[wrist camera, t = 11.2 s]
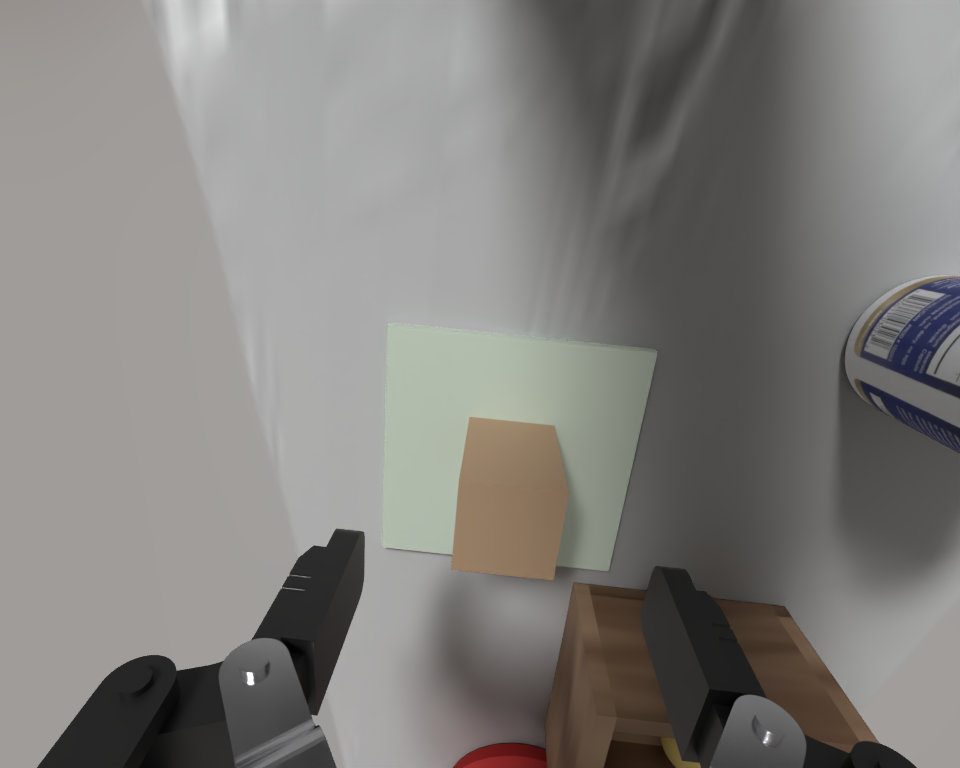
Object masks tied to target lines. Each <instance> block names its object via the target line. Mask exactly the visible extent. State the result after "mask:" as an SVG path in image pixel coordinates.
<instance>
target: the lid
mask: <svg viewBox="0 0 960 768" xmlns="http://www.w3.org/2000/svg"><path fill="white" fill-rule="evenodd" d="M657 354H658V352H657V351H656V350H655V349H650V348H641V347H631V346H621V345H611V344H601V343H591V342H582V341H572V340H562V339H552V338H542V337H532V336H522V335H513V334H503V333H493V332H483V331H473V330H463V329H454V328H444V327H434V326H424V325H414V324H404V323H395V322H390V323H389V324H388V325H387V362H386V400H385V437H384V475H383V513H382V547H385V548H394V549H403V550H413V551H422V552H431V553H441V554H450V555H452V565H451V570H460V571H469V572H478V573H488V574H497V575H506V576H516V577H525V578H534V579H543V580H554V575H555V569H556V566H562V567H571V568H581V569H590V570H599V571H609V567H610V563H611V558H612V554H613V550H614V545H615V541H616V536H617V532H618V527H619V523H620V518H621V514H622V510H623V505H624V501H625V496H626V492H627V487H628V483H629V478H630V474H631V470H632V465H633V461H634V456H635V452H636V447H637V443H638V438H639V434H640V429H641V425H642V421H643V416H644V412H645V407H646V403H647V398H648V394H649V389H650V385H651V381H652V376H653V372H654V367H655V363H656V358H657Z"/></svg>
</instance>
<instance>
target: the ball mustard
mask: <svg viewBox="0 0 960 768" xmlns="http://www.w3.org/2000/svg"><path fill="white" fill-rule="evenodd" d="M661 742H662V746H663V749H664V751H665V753H666V755H667V757H668V759H669V760H670V762H671V763H672V764H673V765H674V766H675V767H676V768H701V766H700V763H696V762H688V761H682V760H681V756H680V753H679V750H678V747H677V743H676V740H675V738H666V737H661Z"/></svg>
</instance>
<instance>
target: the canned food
mask: <svg viewBox="0 0 960 768" xmlns="http://www.w3.org/2000/svg"><path fill="white" fill-rule="evenodd" d="M453 768H547V757H546V750H544V749H541V748H539V747H535V746H531V745H526V744H518V743H501V744H495V745H489V746H486V747H482V748H479V749H477V750H475V751H473V752H471V753H469V754H467V755H466V756H464V757H463V758H462V759H460V760H459V761H458V762H457V763H456V765H455V766H454V767H453Z"/></svg>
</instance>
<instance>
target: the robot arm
mask: <svg viewBox="0 0 960 768" xmlns="http://www.w3.org/2000/svg"><path fill="white" fill-rule="evenodd" d="M364 548H365V536H364V532H362V531H353V530H345V529H336V530H335V531H334V533H333V535H332V537H331V539H330V541H329V543H328V545H327V547H321V546H313V547H311V548H310V549H309V550H308V551H307V552H305V553H304V554H303V555H302V556H300V557H299V558H298V560H297V562H296V563H295V565H294V567H293V569H292V570H291V572H290V575H289V577H287V579H286V581H285V583H284V584H283V586H282V589H281V590H280V591H279V593H278V595H277V597H276V598H275V600H274V602H273V604H272V606H271V607H270V609H269V611H268V612H267V614H266V616H265V618H264V619H263V621H262V623H261V625H260V626H259V628H258V630H257V632H256V633H255V635H254V637H253V638H252V640H251V641H248V642H246V643H244V644H242V645H240V646H239V647H237V648H236V649H234V650H233V651H232V652H231V653H230V654H229V655H228V656H227V657H226V659H225V660H224V661H222V662H219V663H216V664H212V665H208V666H202V667H196V668H191V669H185V670H180V671H176V667H175V664H174V663H173V662H172V661H171V660H170V659H169V658H167V657H164V656H160V655H149V656H143V657H139V658H136V659H134V660H131V661H129V662H127V663H125V664H123V665H121V666H120V667H118V668H117V669H115V670H114V671H113V672H111V673H110V674H109V675H108V676H107V677H106V678H105V679H104V680H103V681H102V683H101V684H100V685H99V686H98V688H97V689H96V691H95V692H94V693H93V694H92V696H91V697H90V698H89V700H88V701H87V702H86V704H85V705H84V706H83V708H82V709H81V710H80V712H79V713H78V714H77V715H76V717H75V718H74V720H73V721H72V722H71V723H70V725H69V726H68V727H67V729H66V730H65V731H64V733H63V734H62V735H61V737H60V738H59V740H58V741H57V742H56V743H55V745H54V746H53V747H52V748H51V750H50V751H49V753H48V754H47V755H46V757H45V758H44V759H43V760H42V762H41V763H40V764H39V766H38V767H37V768H336V765H335V762H334V760H333V757H332V754H331V751H330V748H329V746H328V743H327V740H326V737H325V735H324V733H323V730H322V729H321V727H320V726H319V725H318V726H315V724H314V722H313V720H312V716H311V715H318V712H319V709H320V706H321V704H322V701H323V698H324V696H325V693H326V690H327V687H328V685H329V682H330V679H331V676H332V674H333V671H334V668H335V665H336V663H337V660H338V657H339V654H340V652H341V649H342V646H343V643H344V641H345V638H346V635H347V632H348V630H349V627H350V624H351V621H352V619H353V616H354V613H355V610H356V608H357V605H358V602H359V599H360V596H361V592H362V588H363V582H364ZM641 623H642V631H643V635H644V638H645V641H646V645H647V648H648V651H649V654H650V658H651V661H652V664H653V668H654V671H655V674H656V678H657V681H658V684H659V687H660V691H661V694H662V697H663V701H664V704H665V707H666V710H667V714H668V717H669V720H670V724H671V727H672V730H673V733H674V737H675V740H676V743H677V747H678V750H679V753H680V756H681V760H682V761H688V762H696V763H700V766H701V768H916V766H914V765H913V764H912V763H911V762H910V761H909V760H907V759H906V758H905V757H903V756H902V755H901V754H899V753H898V752H896V751H894V750H893V749H891V748H889V747H887V746H884V745H882V744H879V743H876V742H872V741H861V742H858V743H856V744H855V745H854V746H853V748H852V750H851V752H850V753H847V752H845V751H843V750H840V749H838V748H835V747H833V746H830V745H828V744H825V743H823V742H820V741H818V740H816V739H813V738H811V737H809V736H807V735H805V734H803V732H802V730H801V728H800V727H799V725H798V724H797V722H796V721H795V720H794V719H793V718H792V717H791V716H790V715H789V714H788V713H787V712H786V711H785V710H784V709H783V708H781V707H780V706H779V705H777V704H776V703H774V702H772V701H770V700H768V699H767V697H766V695H765V693H764V691H763V689H762V687H761V685H760V683H759V681H758V679H757V677H756V675H755V673H754V671H753V669H752V668H751V666H750V664H749V662H748V660H747V658H746V656H745V654H744V652H743V650H742V648H741V646H740V644H738V643H737V638H736V636H735V634H734V632H733V630H732V629H730V624H729V622H728V620H727V618H726V616H725V615H724V613H723V611H722V609H721V607H720V606H719V605H718V604H717V603H716V602H715V601H714V600H713V599H712V598H711V597H710V596H709V595H708V594H707V593H706V592H705V591H696V589H695V587H694V585H693V583H692V580H691V578H690V576H689V574H688V572H687V571H686V570H685V569H679V568H670V567H662V566H656V567H655V568H654V570H653V572H652V576H651V579H650V583H649V586H648V590H647V593H646V597H645V600H644V604H643V607H642V614H641Z"/></svg>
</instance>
